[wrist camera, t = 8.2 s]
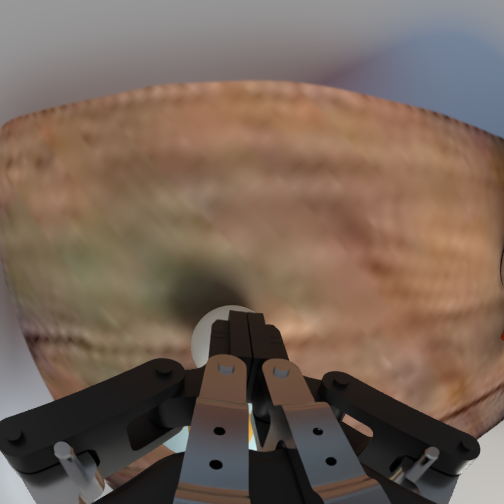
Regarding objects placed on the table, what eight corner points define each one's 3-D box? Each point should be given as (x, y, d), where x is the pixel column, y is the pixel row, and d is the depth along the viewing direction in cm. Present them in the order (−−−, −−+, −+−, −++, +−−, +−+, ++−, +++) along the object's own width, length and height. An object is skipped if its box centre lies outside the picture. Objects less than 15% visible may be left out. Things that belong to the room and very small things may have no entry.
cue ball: (271, 393, 15) (250, 400, 20) (295, 309, 19) (271, 335, 24) (176, 358, 15) (179, 374, 20) (211, 278, 19) (205, 311, 24)
